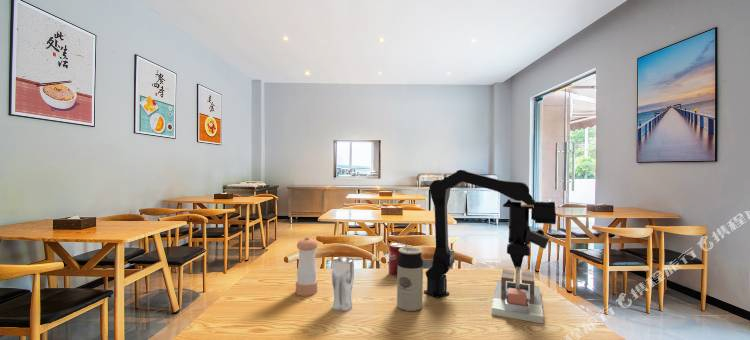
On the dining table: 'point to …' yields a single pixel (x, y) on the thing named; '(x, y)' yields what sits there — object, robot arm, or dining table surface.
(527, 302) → the grey piece
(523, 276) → the tunnel
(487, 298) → the dining table surface
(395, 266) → the soda can
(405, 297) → the travel mug
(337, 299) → the beer glass
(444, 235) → the robot arm
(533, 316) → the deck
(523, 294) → the block
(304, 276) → the pepper shaker
